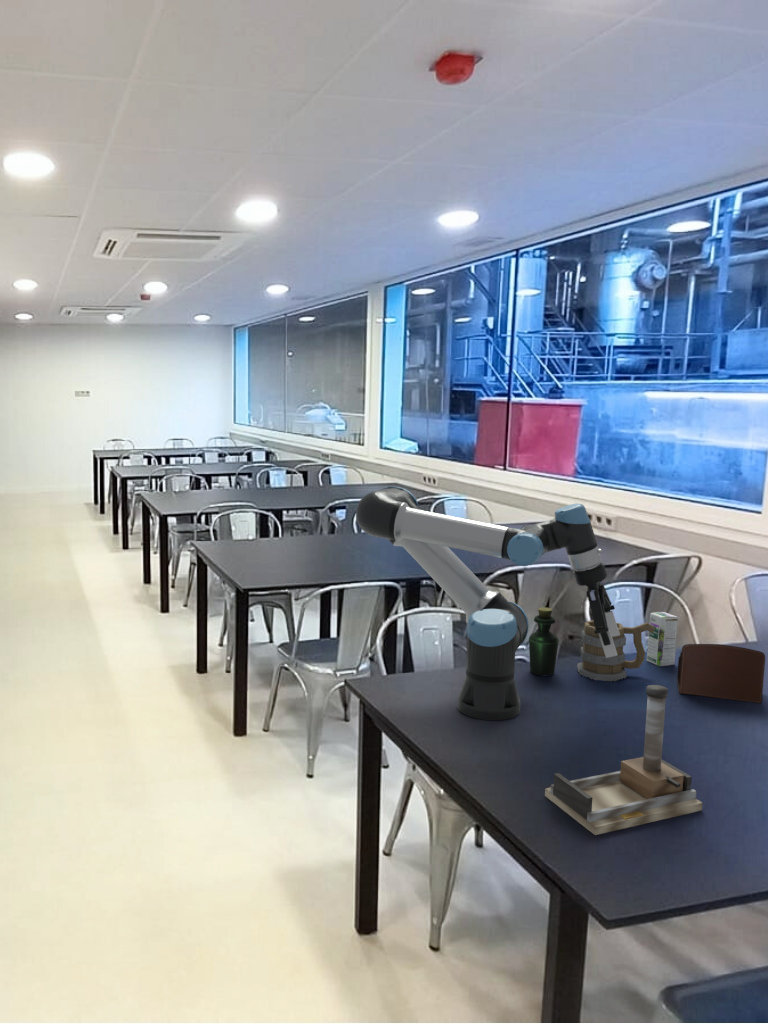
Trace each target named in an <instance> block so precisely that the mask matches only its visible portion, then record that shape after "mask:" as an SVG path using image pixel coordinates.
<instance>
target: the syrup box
mask: <svg viewBox="0 0 768 1024" xmlns="http://www.w3.org/2000/svg"><path fill="white" fill-rule="evenodd" d="M678 621H679V616H676V615H673V614H670V613H667V612H666V611H664V612H663V611H655V612H651V613H650V614H649V624H650V625H652V626H653V627H655V630H654V632H653V633H651V632H649V631H648V639H647V654H646V662H649V663H650V664H651V663H652V664H654V665H655V666H658V667H666V666H674V665H675V661H676V660H675V659H676V647H677V636H678V635H677V634H678V623H679V622H678Z"/></svg>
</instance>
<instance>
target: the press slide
mask: <svg viewBox="0 0 768 1024" xmlns="http://www.w3.org/2000/svg"><path fill="white" fill-rule="evenodd" d="M645 689H646V690H645V694H646V695H647V700H646V701H647V702H646V715H645V717H646V718H645V729H644V730H645V731H644V732H645V733H644V745H643V756H641V757H635V758H630V759H626V760H620V770H619V771H620V781H621V782H622V783H624V784H625V785H627V786H629V787H630V788H632V789H633V790H635V791H636V792H638V793H639V794H641V795H642V796H644V797H645V798H647V799H651V798H655V797H660V796H664V795H669V794H673V793H678V792H682V791H683V777H684V775H682V774H681V773H679V772H677V771H675V770H674V769H672V768H670V767H669V766H667V765H665V764H664V763H662V762H661V759H662V757H663V756H662V755H663V742H664V729H665V728H664V727H665V715H666V701H667V698H668V694H669V689H668V688H667V687H666V686H662V685H660V684H659V685H658V684H650V685H649V684H648V685H647V686H646V688H645ZM662 760H663V759H662Z"/></svg>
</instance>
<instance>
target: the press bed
mask: <svg viewBox="0 0 768 1024" xmlns="http://www.w3.org/2000/svg"><path fill="white" fill-rule="evenodd" d="M661 762H662V763H664V764H665V765H667V766H669V767H670V768H672V769H674V770H675V771H677V772H679V773H681V774H682V775H684V777H683V791H682V792H678V793H673V794H669V795H664V796H660V797H655V798H651V799H647V798H645V797H644V796H642V795H641V794H639V793H638V792H636V791H635V790H633V789H632V788H630V787H629V786H627V785H625V784H624V783H622V782H621V781H620V771H621V770H617V771H613V772H612V771H611V772H608V773H603V774H602V773H601V774H598V775H593V776H592V775H591V776H588V777H582V778H578V779H577V778H576V779H573V780H569V779H568V778H566V777H565V776H564V775H562V774H561V773H559V772H556V773H554V774H553V784H550V787H546V788H545V789H544V796H545V797H546V798H547V799H548V800H550V801H551V802H552V803H553V804H554V805H556V806H558V807H559V808H560V809H561V810H562V811H564V813H566V814H568V815H569V816H570V817H571V818H572V819H574V820H575V821H576V822H577V823H579V824H580V825H582V826H583V827H584V828H585V829H586V830H588V831H589V832H590V833H592V834H593V836H594V835H595V836H597V835H604V834H606V833H611V832H615V831H619V830H623V829H629V828H633V827H637V826H641V825H645V824H649V823H654V822H658V821H662V820H663V821H664V820H666V819H671V818H675V817H680V816H685V815H689V814H692V813H696V812H700V811H701V812H702V810H703V801H701V800H699V799H697V790H695V789H694V788H693V789H692V781H693V780H692V776H691V775H690V774H688V773H686V772H684V770H681V769H679V768H678V767H676V766H674V765H672V764H671V763H669V762H667V761H666V760H664V759H661Z"/></svg>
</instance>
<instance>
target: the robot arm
mask: <svg viewBox="0 0 768 1024" xmlns="http://www.w3.org/2000/svg"><path fill="white" fill-rule="evenodd" d="M586 509H587V508H586V507H585V505H584V504H582V503H571V504H567V505H565V506H562V507H559V508H558V509H556V510H555V512H554V518H552V519H550V520H546V521H542V522H538V523H535V524H531V525H527V526H526V525H525V526H524V525H523V526H522V527H519V528H514V527H508V526H504V525H499V524H494V523H489V522H483V521H478V520H473V519H467V518H464V517H457V516H453V515H448V514H443V513H438V512H433V511H427V510H423V509H420V507H419V503H418V501H417V499H416V497H415V495H414V494H413V493H412V492H411V491H409V490H408V489H405V488H404V487H399V486H386V487H383V488H381V489H379V490H375V491H371V492H368V493H367V494H365V495H364V496H362V498H360V500H359V502H358V503H357V506H356V510H355V518H356V522H357V524H358V526H359V528H360V529H361V530H362V531H363V532H364V533H365V534H368V535H369V536H371V537H376V538H380V539H387V540H388V542H390V543H391V544H392V545H393V546H394V547H401V548H403V549H404V550H405V551H406V552H407V553H408V554H409V555H410V556H411V557H412V558H413V559H414V560H415V561H416V562H417V563H418V565H419V566H421V568H422V569H423V570H424V571H425V572H426V573H427V574H428V575H429V576H430V578H432V579H433V581H435V583H436V584H437V585H438V586H439V588H441V589H442V590H443V591H444V592H445V593H446V594H447V595H448V596H449V597H450V598H451V599H452V601H453V602H454V603H455V604H456V605H457V606H458V607H459V608H460V609H461V610H462V611H463V612H464V613H465V623H466V654H465V655H466V656H465V675H464V677H465V678H464V679H463V683H462V685H461V688H460V691H459V693H458V696H457V703H456V704H457V707H456V708H457V710H458V711H459V712H460V713H462V714H463V715H465V716H467V717H470V718H475V719H479V720H485V721H503V720H509V719H512V718H515V717H517V716H518V715H519V714H520V712H521V699H520V695H519V693H518V689H517V685H516V682H515V667H516V651H518V649H519V647H520V646H521V645H522V644H523V643H524V642H525V640H526V638H527V636H528V632H529V627H530V626H529V619H528V616H527V613H526V611H524V609H523V608H522V607H521V606H520V605H519V604H517V603H515V602H513V601H510V600H509V601H508V599H506V598H505V596H504V595H503V594H502V593H501V592H500V591H497V590H496V591H495V590H490V589H489V588H488V587H487V586H486V585H485V584H484V583H483V582H482V581H481V580H480V579H479V577H478V576H476V575H475V574H474V572H472V570H471V569H470V568H469V567H468V566H467V565H466V564H465V563H464V562H463V561H462V560H461V559H460V558H459V557H458V556H457V554H455V552H454V551H453V550H451V549H456V550H462V551H466V552H470V553H475V554H476V553H477V554H480V555H485V556H489V557H490V556H491V557H494V558H495V557H496V558H500V559H505V560H508V561H511V562H512V563H513V564H516V565H517V566H520V567H529V566H531V565H533V564H535V563H537V562H538V561H539V560H540V559H541V557H543V555H544V554H547V553H549V552H553V551H556V550H561V549H564V548H565V550H566V554H567V558H568V561H569V564H570V568H571V569H572V570H573V575H574V578H575V581H576V584H577V585H578V586H582V587H583V586H585V587H587V591H586V597H587V600H588V603H589V607H590V611H591V616H592V620H594V625H595V629H596V631H594V633H595V634H599V637H600V640H601V644H602V647H603V650H604V653H605V656H606V658H608V657H613V656H617V651H616V648H615V645H614V642H613V639H612V637H614V636H619V635H620V633H619V630H618V627H617V624H616V623H617V620H616V618H615V615H614V611H613V610H615V608H616V607H615V605H614V604H613V605H612V601H611V600H610V597H609V594H608V593H607V590H606V587H605V585H604V583H603V581H604V580H605V579H606V578H607V577H608V573H607V571H606V567H605V564H604V562H602V560H603V559H602V555H601V553H603V549H601V548H599V546H598V542H597V539H596V536H595V533H594V528H593V525H592V522H591V518H589V514H588V512H587V510H586ZM450 548H451V549H450ZM601 626H603V627H601ZM599 627H601V628H599Z"/></svg>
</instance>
